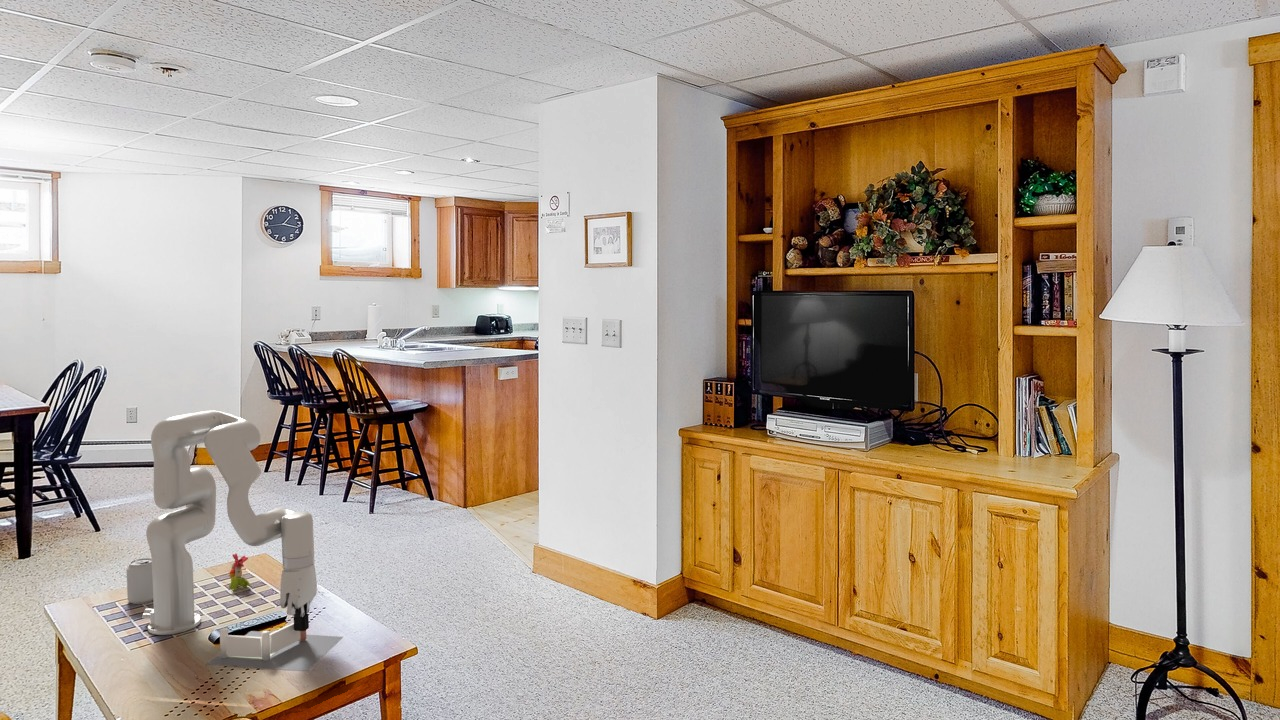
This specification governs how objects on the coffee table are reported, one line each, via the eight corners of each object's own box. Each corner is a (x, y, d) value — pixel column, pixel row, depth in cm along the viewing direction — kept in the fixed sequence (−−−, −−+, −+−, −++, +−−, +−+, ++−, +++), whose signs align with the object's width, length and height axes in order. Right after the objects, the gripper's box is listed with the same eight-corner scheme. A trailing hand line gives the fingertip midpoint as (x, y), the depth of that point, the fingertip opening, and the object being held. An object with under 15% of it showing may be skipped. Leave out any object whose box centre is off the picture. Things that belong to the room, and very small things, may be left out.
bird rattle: (223, 594, 242) (231, 590, 236) (217, 558, 244) (226, 554, 238) (244, 589, 246) (253, 585, 240) (239, 554, 248) (248, 549, 242)
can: (147, 605, 227) (145, 565, 226) (121, 604, 228) (120, 564, 226) (163, 595, 235) (161, 556, 234) (138, 594, 235) (137, 556, 234)
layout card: (205, 666, 192) (205, 664, 192) (251, 633, 211) (250, 630, 211) (306, 673, 190) (306, 670, 190) (343, 639, 208) (343, 636, 208)
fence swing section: (273, 655, 196) (272, 632, 195) (267, 654, 197) (267, 631, 196) (308, 638, 206) (307, 616, 205) (302, 636, 207) (302, 615, 206)
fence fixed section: (218, 657, 195) (218, 630, 195) (223, 654, 197) (222, 627, 197) (267, 661, 194) (266, 634, 194) (271, 657, 196) (270, 630, 195)
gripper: (300, 550, 209) (303, 617, 210) (267, 570, 194) (271, 641, 195) (327, 551, 208) (329, 618, 209) (296, 571, 193) (299, 643, 195)
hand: (301, 629), depth 202 cm, fingers closed
